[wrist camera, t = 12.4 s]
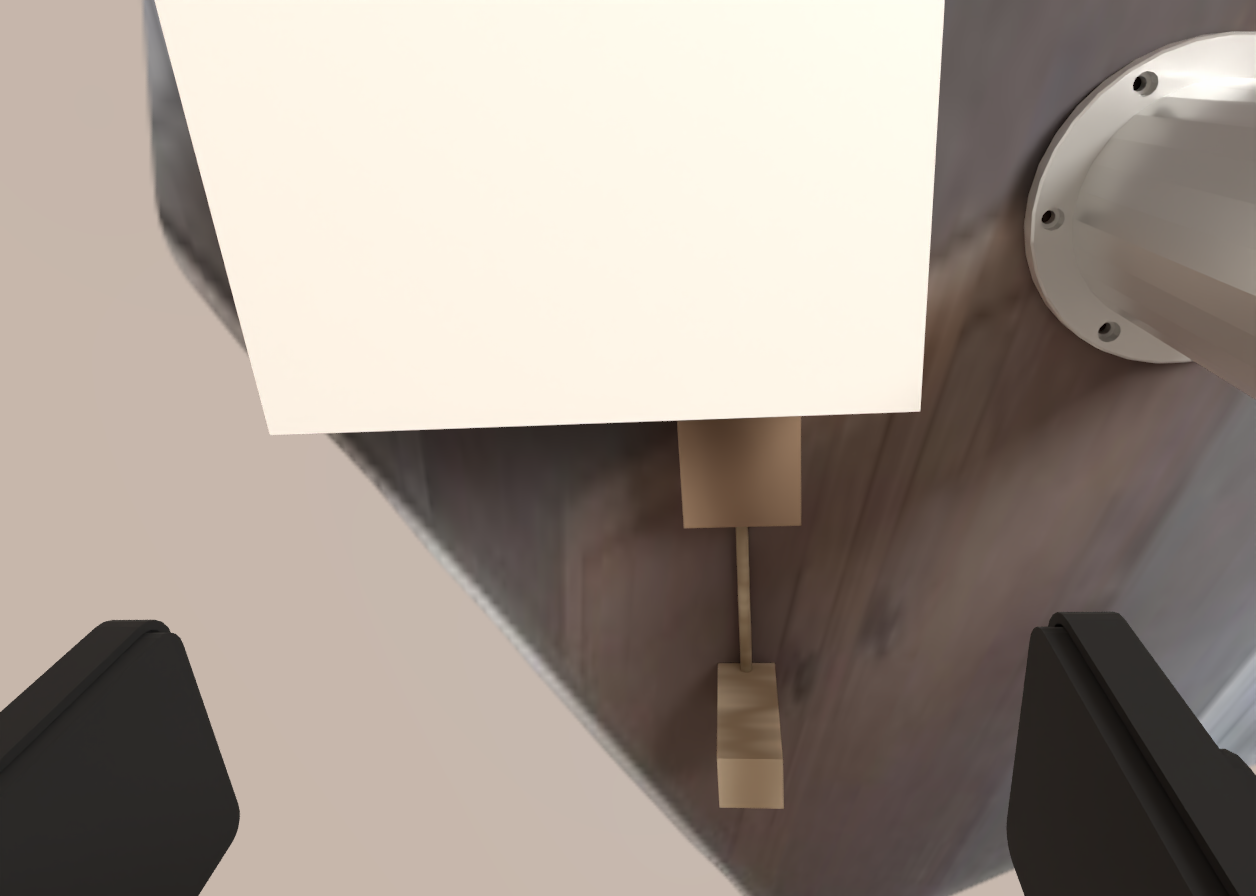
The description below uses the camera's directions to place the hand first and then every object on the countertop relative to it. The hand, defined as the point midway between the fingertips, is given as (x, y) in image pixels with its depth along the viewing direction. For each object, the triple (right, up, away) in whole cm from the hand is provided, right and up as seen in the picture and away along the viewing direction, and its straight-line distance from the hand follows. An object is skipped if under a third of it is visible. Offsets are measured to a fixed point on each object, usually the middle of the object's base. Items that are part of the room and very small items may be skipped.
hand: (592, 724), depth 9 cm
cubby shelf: (0, +17, +26) cm, 31 cm away
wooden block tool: (+6, -2, +34) cm, 34 cm away
